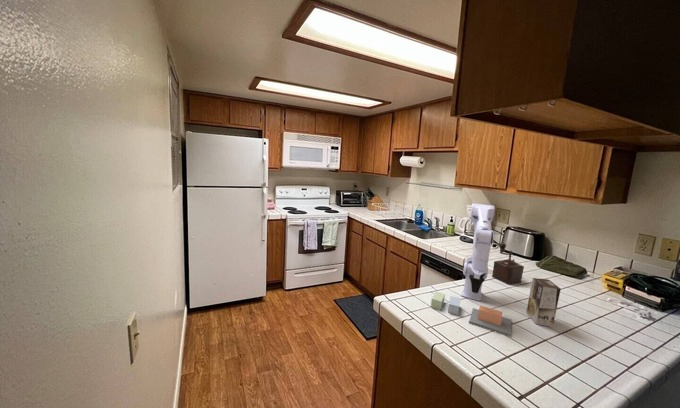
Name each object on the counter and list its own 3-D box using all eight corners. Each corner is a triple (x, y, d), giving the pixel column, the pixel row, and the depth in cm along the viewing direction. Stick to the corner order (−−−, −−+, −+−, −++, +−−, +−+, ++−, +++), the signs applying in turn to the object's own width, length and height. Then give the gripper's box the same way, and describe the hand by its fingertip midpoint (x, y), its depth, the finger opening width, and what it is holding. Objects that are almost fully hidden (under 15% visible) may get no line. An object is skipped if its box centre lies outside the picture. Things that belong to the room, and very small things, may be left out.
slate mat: (472, 309, 120) (472, 307, 120) (510, 321, 113) (511, 319, 113) (469, 323, 110) (469, 321, 109) (510, 336, 103) (510, 334, 102)
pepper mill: (522, 282, 151) (528, 250, 148) (508, 285, 147) (514, 252, 144) (497, 271, 165) (502, 241, 162) (483, 273, 161) (488, 242, 158)
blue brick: (449, 304, 124) (450, 295, 123) (459, 306, 122) (460, 298, 121) (447, 312, 116) (448, 303, 116) (458, 315, 115) (459, 306, 114)
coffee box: (553, 327, 110) (561, 289, 108) (535, 324, 112) (543, 286, 109) (542, 315, 119) (549, 279, 116) (525, 312, 120) (532, 277, 118)
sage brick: (434, 299, 127) (435, 291, 126) (443, 302, 125) (445, 294, 124) (430, 307, 120) (431, 298, 119) (440, 310, 118) (441, 301, 117)
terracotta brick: (477, 318, 112) (479, 309, 111) (478, 314, 115) (479, 305, 114) (500, 325, 108) (502, 316, 107) (500, 321, 111) (502, 311, 110)
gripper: (472, 251, 124) (467, 280, 126) (467, 260, 112) (463, 292, 114) (490, 255, 120) (485, 285, 123) (487, 265, 108) (482, 298, 110)
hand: (475, 289), depth 118 cm, fingers open, 7 cm apart
